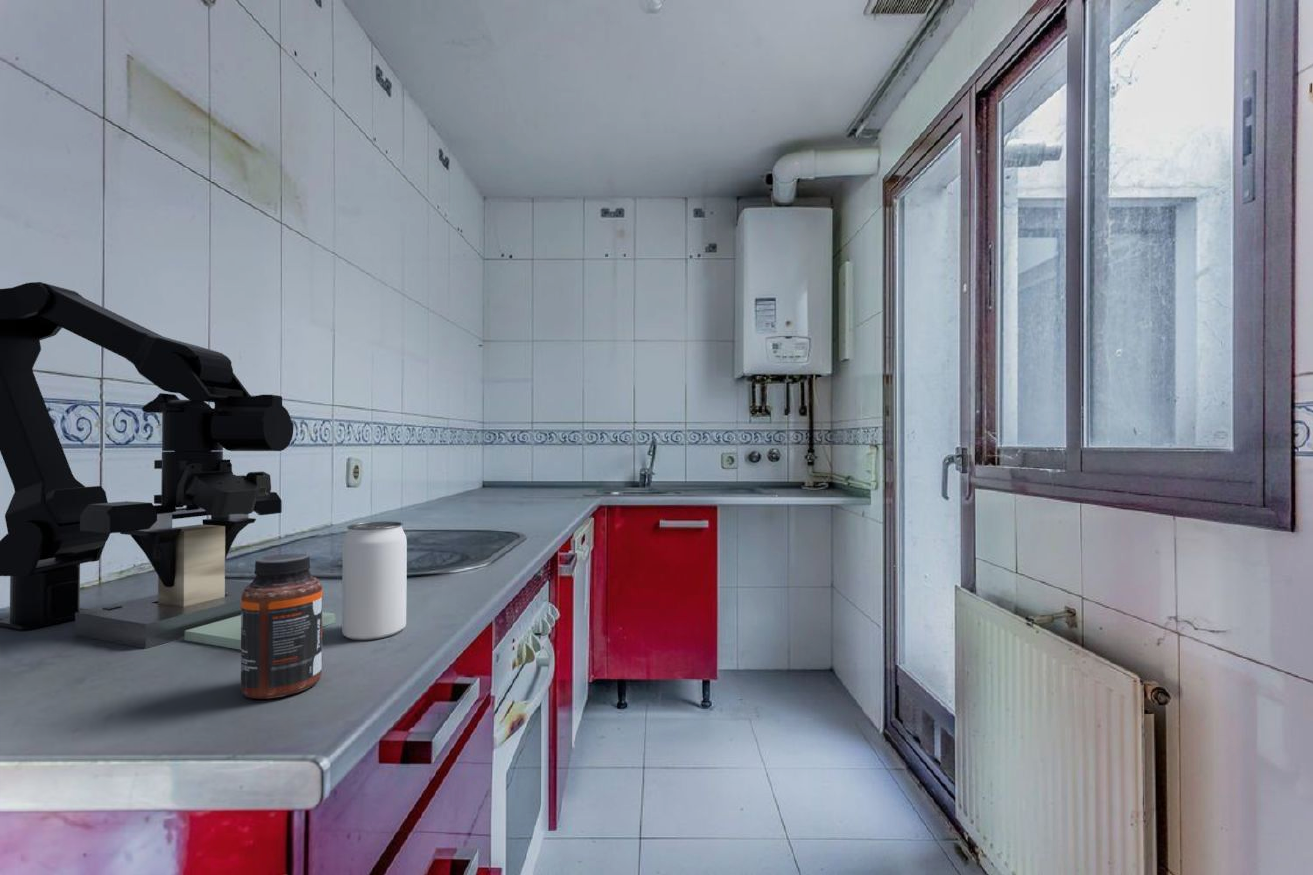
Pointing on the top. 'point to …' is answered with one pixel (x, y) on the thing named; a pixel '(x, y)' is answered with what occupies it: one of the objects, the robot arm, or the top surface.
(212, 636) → the pad
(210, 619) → the plate
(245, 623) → the supplement bottle
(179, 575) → the peg
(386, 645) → the top surface
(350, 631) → the can
